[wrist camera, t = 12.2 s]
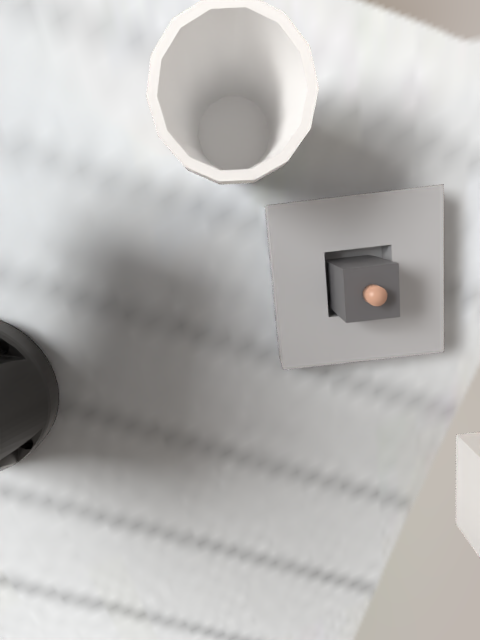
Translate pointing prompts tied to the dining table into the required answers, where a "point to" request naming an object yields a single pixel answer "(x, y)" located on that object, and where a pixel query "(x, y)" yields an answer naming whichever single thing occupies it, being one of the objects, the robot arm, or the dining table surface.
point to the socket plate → (347, 241)
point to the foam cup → (232, 89)
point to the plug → (363, 288)
